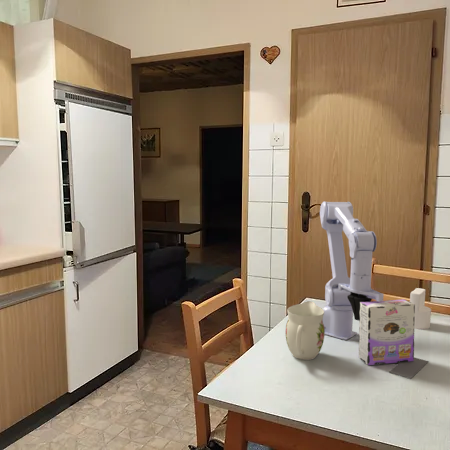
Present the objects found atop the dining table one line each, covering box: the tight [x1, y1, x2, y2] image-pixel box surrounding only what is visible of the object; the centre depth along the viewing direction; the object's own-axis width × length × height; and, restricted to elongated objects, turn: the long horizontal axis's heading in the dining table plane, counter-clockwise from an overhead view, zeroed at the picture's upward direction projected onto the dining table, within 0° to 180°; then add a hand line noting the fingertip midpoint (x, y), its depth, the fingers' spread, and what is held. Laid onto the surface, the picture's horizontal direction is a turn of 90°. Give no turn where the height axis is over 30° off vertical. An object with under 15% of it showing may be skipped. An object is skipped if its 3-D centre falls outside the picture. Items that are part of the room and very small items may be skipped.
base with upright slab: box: [409, 287, 432, 330], centre depth 158 cm, size 9×9×12 cm
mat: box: [388, 356, 429, 380], centre depth 123 cm, size 6×14×1 cm, turn 139°
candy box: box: [358, 299, 415, 366], centre depth 127 cm, size 14×6×16 cm, turn 99°
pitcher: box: [285, 300, 325, 361], centre depth 129 cm, size 11×18×14 cm, turn 160°
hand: (358, 319), depth 132 cm, fingers closed
